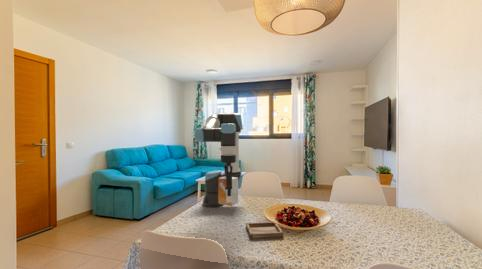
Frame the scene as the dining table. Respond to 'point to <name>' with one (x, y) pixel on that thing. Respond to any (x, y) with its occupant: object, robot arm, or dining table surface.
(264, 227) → the tray
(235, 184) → the small box
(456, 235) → the dining table surface
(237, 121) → the robot arm
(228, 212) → the dining table surface
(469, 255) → the dining table surface
